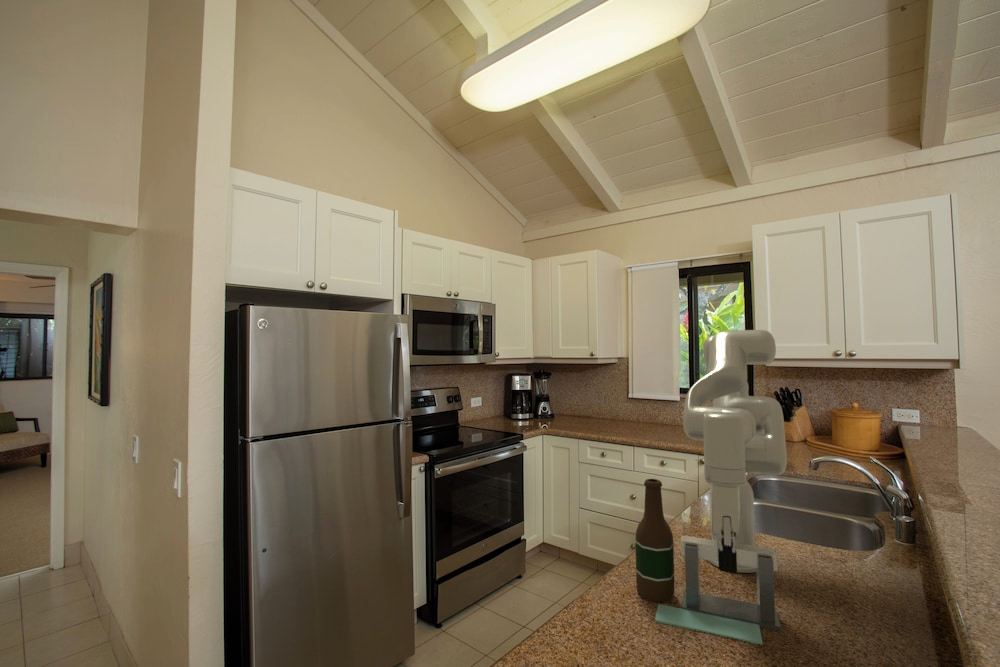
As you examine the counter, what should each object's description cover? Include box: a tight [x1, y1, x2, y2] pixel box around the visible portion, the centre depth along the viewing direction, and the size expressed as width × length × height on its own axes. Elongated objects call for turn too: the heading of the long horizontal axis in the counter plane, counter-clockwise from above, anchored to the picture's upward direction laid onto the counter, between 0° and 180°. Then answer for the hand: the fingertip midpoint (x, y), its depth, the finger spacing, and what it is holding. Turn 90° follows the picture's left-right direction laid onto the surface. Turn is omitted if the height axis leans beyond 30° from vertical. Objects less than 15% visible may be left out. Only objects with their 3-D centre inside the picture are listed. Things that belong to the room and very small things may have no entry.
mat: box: [654, 603, 763, 646], centre depth 87 cm, size 6×18×1 cm, turn 66°
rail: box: [680, 535, 779, 572], centre depth 92 cm, size 3×17×3 cm, turn 66°
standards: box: [681, 545, 782, 632], centre depth 91 cm, size 7×17×12 cm, turn 66°
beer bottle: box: [635, 478, 675, 604], centre depth 99 cm, size 8×8×24 cm
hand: (727, 566), depth 92 cm, fingers closed on rail, 3 cm apart
